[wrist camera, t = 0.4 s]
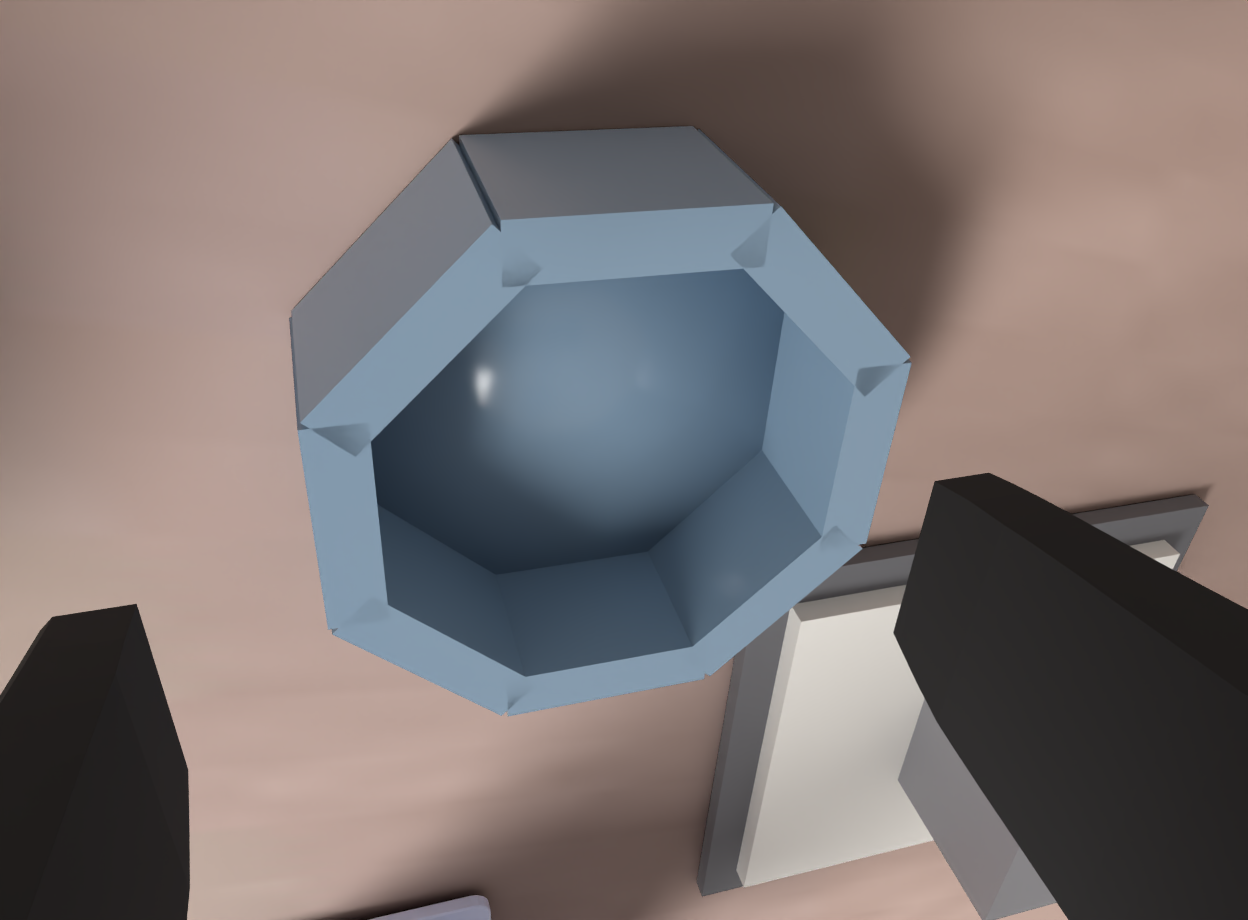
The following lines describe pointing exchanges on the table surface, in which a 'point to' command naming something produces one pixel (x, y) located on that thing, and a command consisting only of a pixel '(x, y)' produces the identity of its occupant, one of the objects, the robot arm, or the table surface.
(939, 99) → the table surface
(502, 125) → the table surface
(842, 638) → the lid
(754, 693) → the mat
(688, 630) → the bowl
